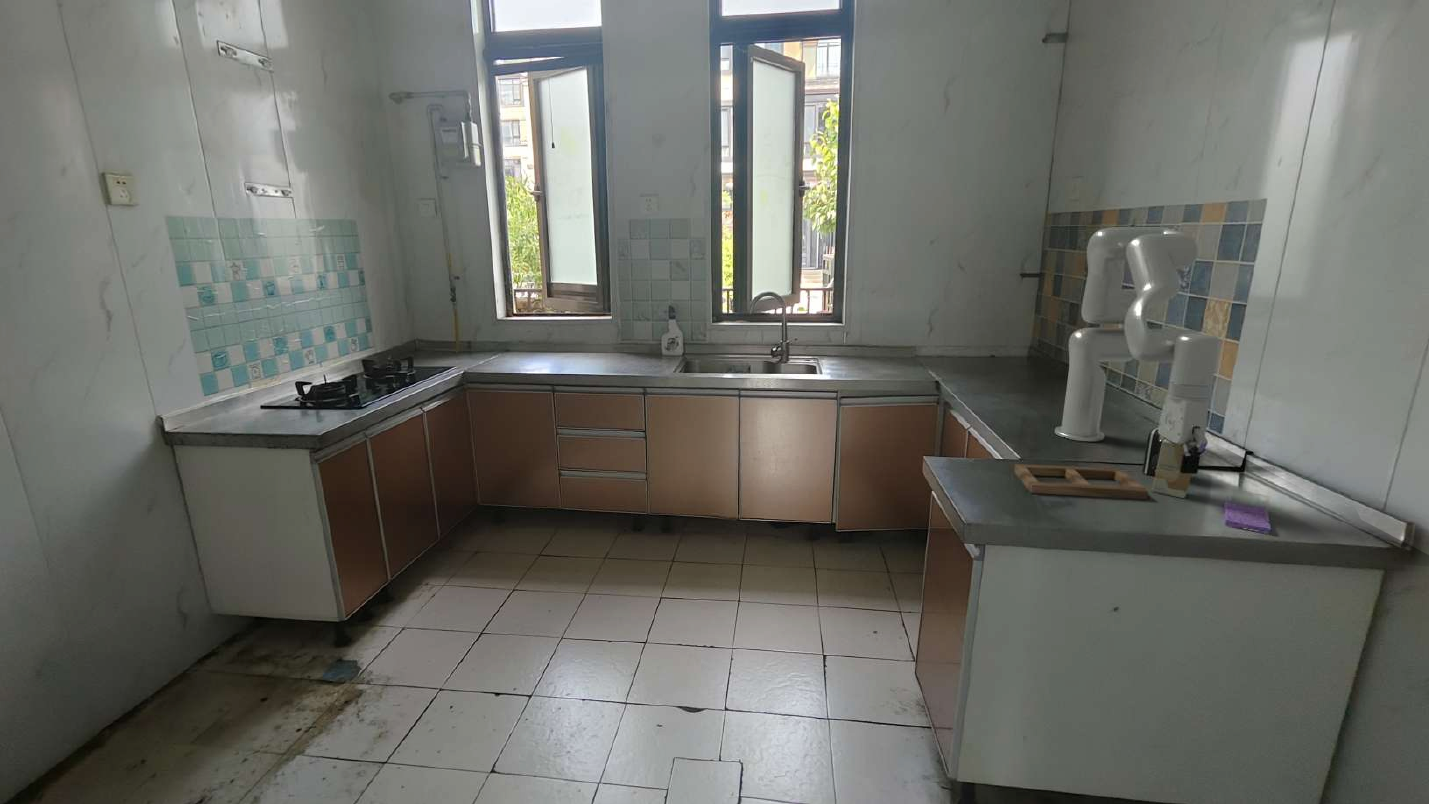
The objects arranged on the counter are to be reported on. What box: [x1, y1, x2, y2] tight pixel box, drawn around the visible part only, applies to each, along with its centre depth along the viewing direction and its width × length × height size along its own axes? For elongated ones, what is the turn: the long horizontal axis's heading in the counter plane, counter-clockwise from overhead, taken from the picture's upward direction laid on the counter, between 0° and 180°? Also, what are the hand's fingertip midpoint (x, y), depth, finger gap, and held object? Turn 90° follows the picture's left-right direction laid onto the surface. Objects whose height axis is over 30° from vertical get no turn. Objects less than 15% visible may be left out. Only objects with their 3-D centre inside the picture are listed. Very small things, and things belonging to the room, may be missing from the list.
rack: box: [1013, 463, 1149, 500], centre depth 148 cm, size 14×24×2 cm, turn 80°
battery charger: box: [1142, 426, 1162, 476], centre depth 154 cm, size 7×4×11 cm, turn 124°
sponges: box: [1223, 500, 1272, 534], centre depth 129 cm, size 7×13×2 cm, turn 142°
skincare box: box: [1151, 438, 1194, 499], centre depth 142 cm, size 6×4×12 cm
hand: (1176, 465), depth 141 cm, fingers open, 9 cm apart
